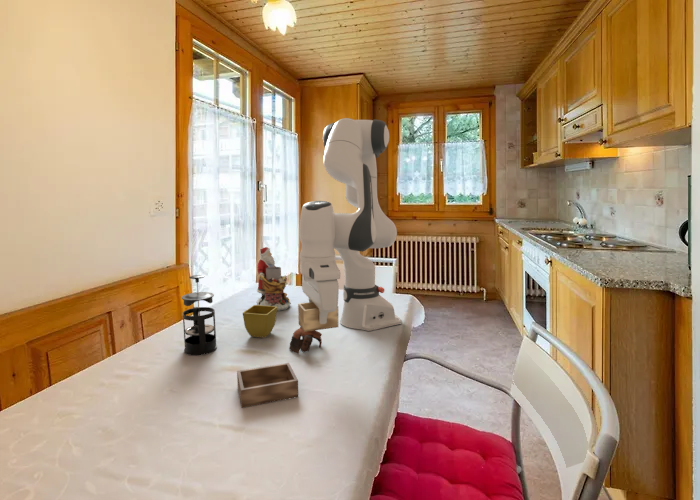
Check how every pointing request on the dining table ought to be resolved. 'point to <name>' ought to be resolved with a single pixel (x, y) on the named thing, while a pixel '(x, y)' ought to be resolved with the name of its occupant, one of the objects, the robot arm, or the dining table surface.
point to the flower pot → (260, 320)
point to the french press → (199, 323)
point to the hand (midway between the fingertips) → (318, 318)
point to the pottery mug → (303, 340)
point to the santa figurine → (271, 282)
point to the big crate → (266, 384)
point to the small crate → (315, 317)
